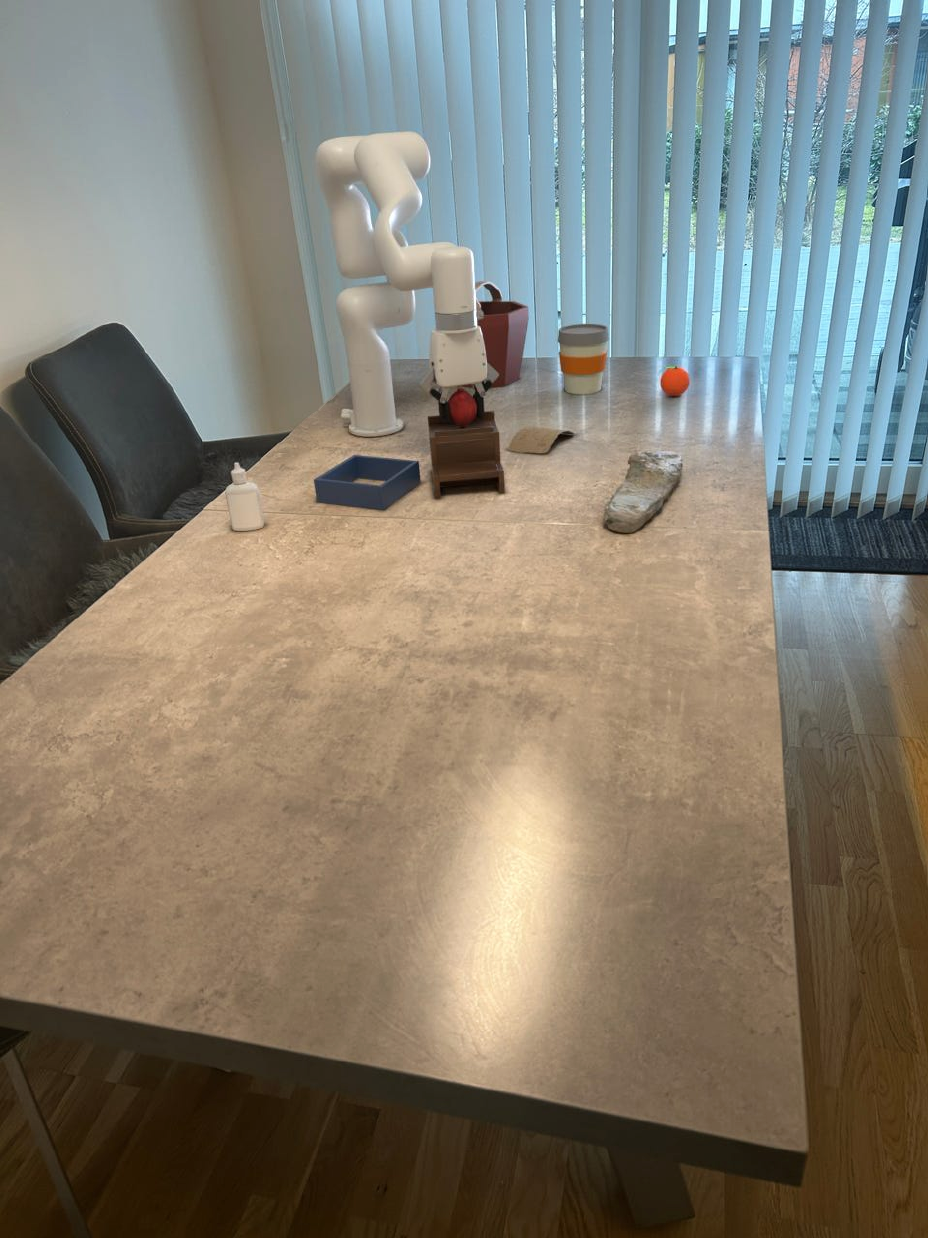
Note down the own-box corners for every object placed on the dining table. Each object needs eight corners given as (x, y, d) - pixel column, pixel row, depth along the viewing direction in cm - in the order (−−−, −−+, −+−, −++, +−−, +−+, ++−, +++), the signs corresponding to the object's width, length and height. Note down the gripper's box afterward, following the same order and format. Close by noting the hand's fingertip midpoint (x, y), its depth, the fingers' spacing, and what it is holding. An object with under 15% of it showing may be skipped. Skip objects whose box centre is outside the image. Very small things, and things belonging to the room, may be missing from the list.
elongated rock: (588, 537, 149) (646, 547, 145) (589, 509, 146) (649, 518, 142) (640, 459, 175) (691, 466, 172) (642, 434, 172) (694, 440, 169)
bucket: (496, 395, 226) (491, 292, 214) (425, 387, 237) (417, 289, 225) (542, 372, 244) (540, 275, 232) (475, 366, 255) (469, 273, 243)
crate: (317, 502, 168) (313, 479, 165) (356, 476, 179) (354, 454, 177) (384, 510, 162) (381, 486, 160) (421, 482, 173) (419, 460, 171)
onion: (482, 424, 171) (480, 382, 167) (470, 433, 166) (467, 390, 162) (455, 421, 173) (452, 380, 169) (442, 430, 169) (439, 388, 165)
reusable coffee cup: (553, 385, 231) (553, 325, 224) (601, 381, 232) (602, 321, 225) (563, 397, 220) (563, 335, 213) (613, 393, 221) (614, 331, 214)
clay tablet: (548, 455, 183) (547, 442, 182) (505, 449, 188) (504, 437, 186) (577, 435, 193) (577, 423, 192) (536, 430, 198) (536, 418, 197)
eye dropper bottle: (255, 533, 156) (242, 468, 150) (228, 530, 158) (215, 466, 152) (268, 524, 159) (257, 460, 154) (242, 521, 161) (230, 457, 156)
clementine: (650, 397, 216) (652, 367, 212) (662, 390, 221) (664, 361, 217) (682, 400, 212) (683, 370, 208) (693, 393, 217) (695, 364, 213)
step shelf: (504, 493, 166) (502, 433, 160) (435, 499, 165) (430, 439, 160) (496, 466, 179) (493, 410, 173) (432, 472, 178) (427, 415, 173)
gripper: (492, 312, 166) (496, 407, 175) (404, 323, 161) (413, 421, 170) (508, 318, 160) (511, 417, 168) (416, 330, 155) (425, 431, 164)
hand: (462, 418), depth 169 cm, fingers closed on onion, 5 cm apart
